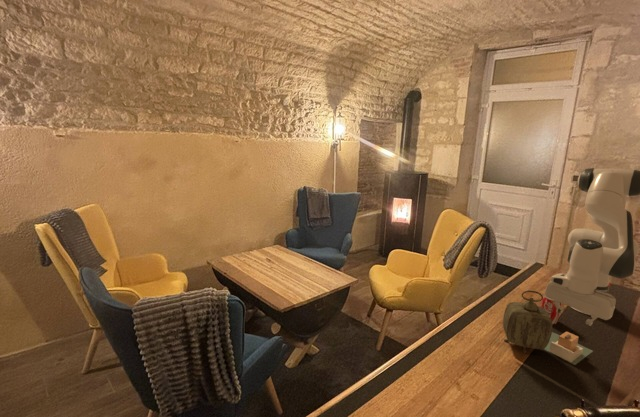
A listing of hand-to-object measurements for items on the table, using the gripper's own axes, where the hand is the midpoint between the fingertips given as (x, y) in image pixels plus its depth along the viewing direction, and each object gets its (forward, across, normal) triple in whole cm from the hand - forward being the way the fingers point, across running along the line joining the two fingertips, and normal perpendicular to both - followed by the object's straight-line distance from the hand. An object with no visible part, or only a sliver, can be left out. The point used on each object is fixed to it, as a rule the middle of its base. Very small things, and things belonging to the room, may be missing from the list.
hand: (573, 318), depth 122 cm
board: (+16, +5, -2) cm, 17 cm away
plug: (+14, 0, +1) cm, 15 cm away
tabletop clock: (+15, +10, +12) cm, 22 cm away
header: (+14, 0, +1) cm, 15 cm away
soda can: (+16, +15, -19) cm, 29 cm away
